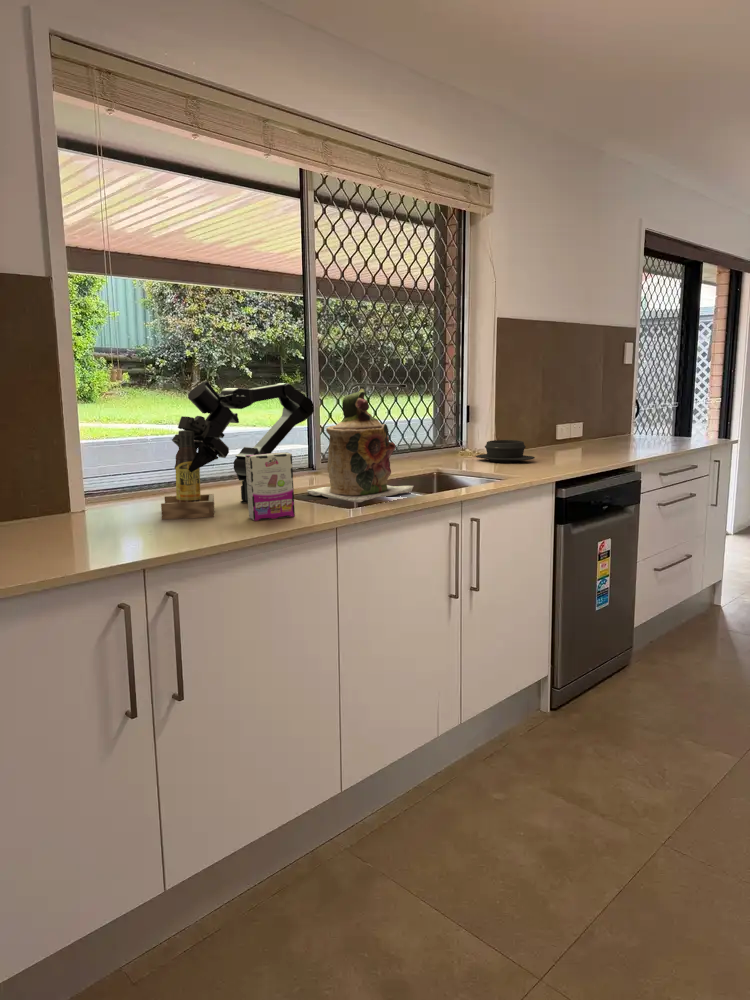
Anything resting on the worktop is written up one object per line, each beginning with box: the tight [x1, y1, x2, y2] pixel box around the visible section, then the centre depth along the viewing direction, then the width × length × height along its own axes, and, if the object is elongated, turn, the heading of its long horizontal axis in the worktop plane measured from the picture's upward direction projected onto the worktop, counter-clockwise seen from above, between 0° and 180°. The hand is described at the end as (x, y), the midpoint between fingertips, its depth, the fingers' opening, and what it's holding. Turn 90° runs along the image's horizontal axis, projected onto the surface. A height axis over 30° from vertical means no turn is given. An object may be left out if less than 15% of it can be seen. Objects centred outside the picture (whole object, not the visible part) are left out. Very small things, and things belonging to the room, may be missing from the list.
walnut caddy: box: [160, 493, 215, 520], centre depth 187 cm, size 13×13×4 cm
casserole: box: [475, 439, 536, 464], centre depth 293 cm, size 25×19×8 cm
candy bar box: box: [245, 451, 296, 522], centre depth 179 cm, size 11×5×16 cm, turn 118°
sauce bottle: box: [174, 429, 202, 503], centre depth 186 cm, size 7×6×20 cm
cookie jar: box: [306, 388, 414, 503], centre depth 214 cm, size 25×25×32 cm
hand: (182, 470), depth 185 cm, fingers closed on sauce bottle, 6 cm apart
